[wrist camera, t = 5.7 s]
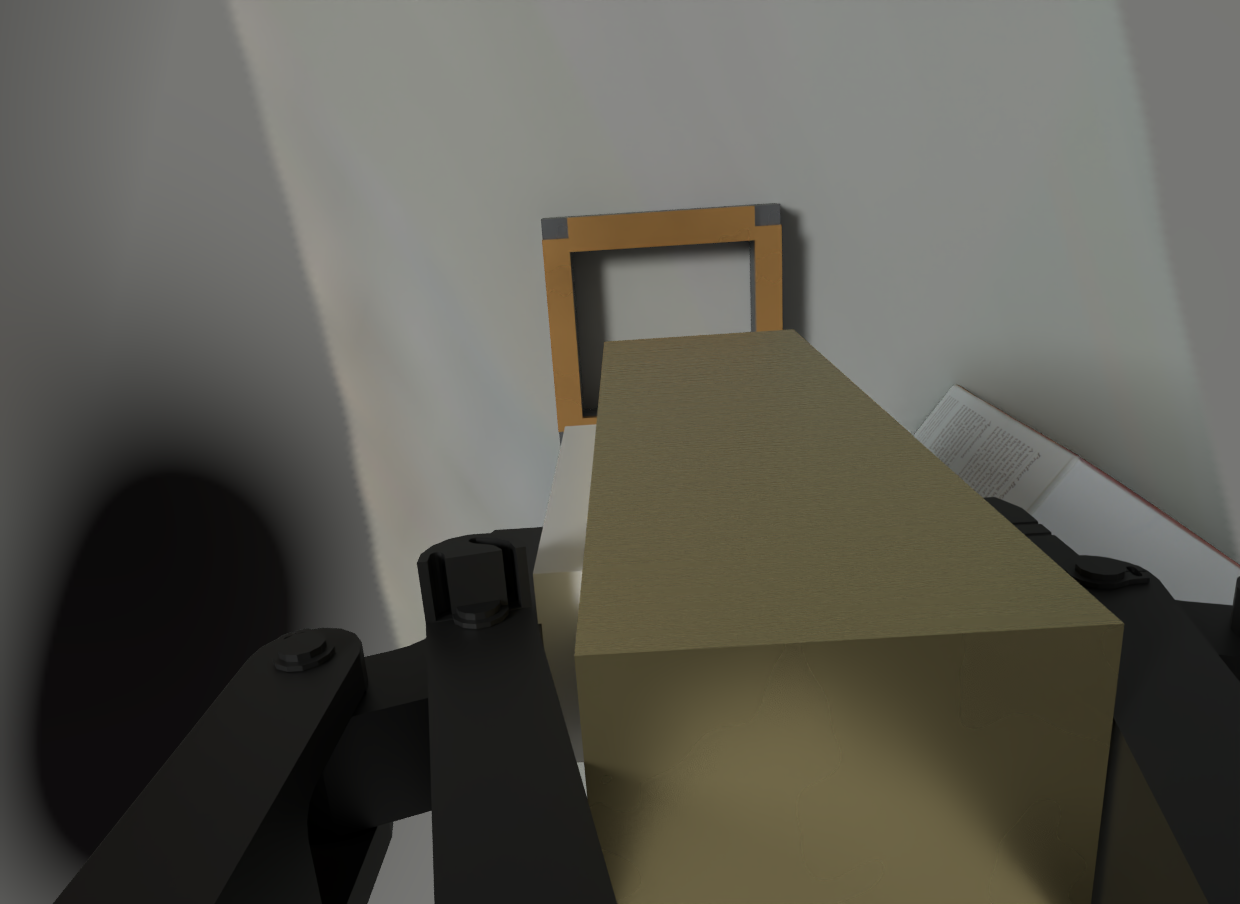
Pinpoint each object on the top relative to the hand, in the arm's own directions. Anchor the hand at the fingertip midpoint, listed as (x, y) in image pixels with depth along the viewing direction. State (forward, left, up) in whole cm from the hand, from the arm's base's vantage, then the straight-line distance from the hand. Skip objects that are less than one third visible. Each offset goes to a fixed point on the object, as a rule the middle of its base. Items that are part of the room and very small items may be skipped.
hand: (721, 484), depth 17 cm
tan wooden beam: (0, 0, -4) cm, 4 cm away
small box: (+7, +13, -19) cm, 25 cm away
